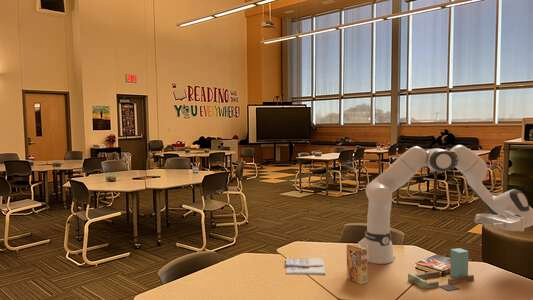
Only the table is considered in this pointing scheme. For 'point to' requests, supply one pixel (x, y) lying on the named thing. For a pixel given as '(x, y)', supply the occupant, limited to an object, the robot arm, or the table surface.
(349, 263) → the candy box
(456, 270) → the teal block
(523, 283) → the table surface
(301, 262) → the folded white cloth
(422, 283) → the channel
